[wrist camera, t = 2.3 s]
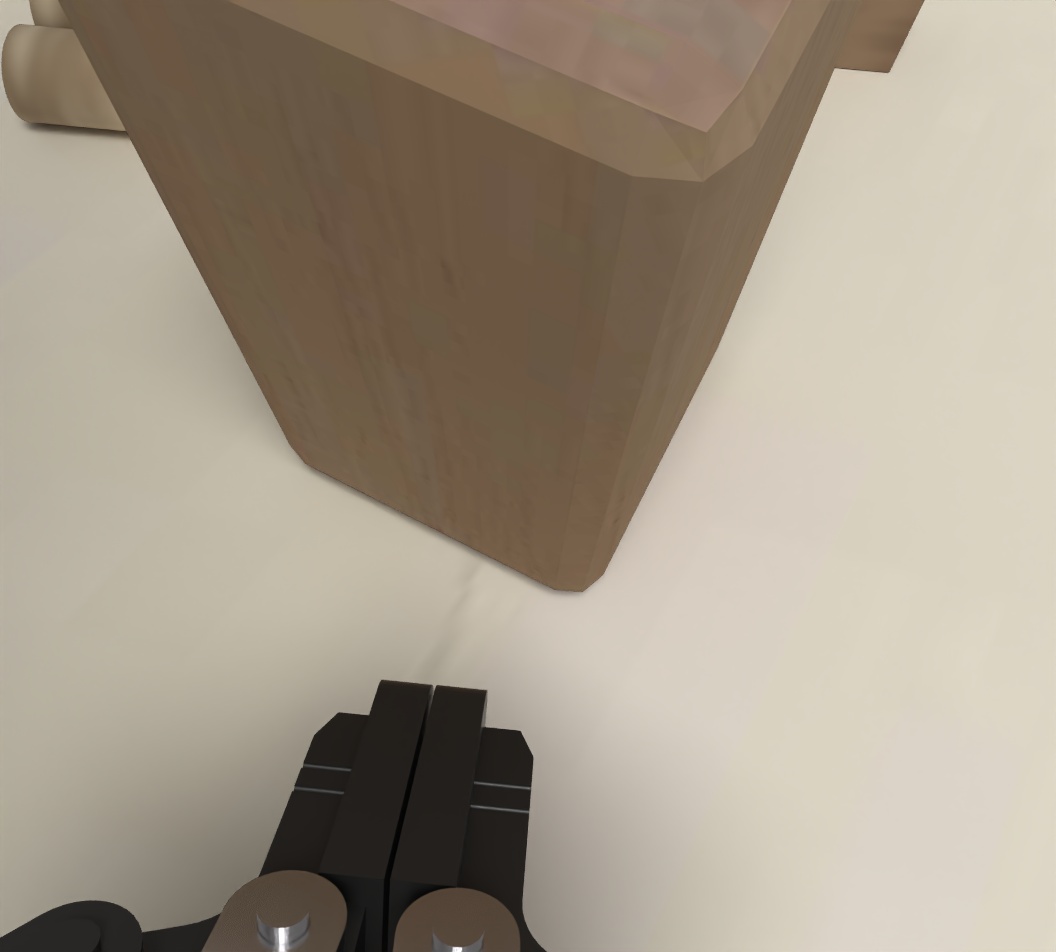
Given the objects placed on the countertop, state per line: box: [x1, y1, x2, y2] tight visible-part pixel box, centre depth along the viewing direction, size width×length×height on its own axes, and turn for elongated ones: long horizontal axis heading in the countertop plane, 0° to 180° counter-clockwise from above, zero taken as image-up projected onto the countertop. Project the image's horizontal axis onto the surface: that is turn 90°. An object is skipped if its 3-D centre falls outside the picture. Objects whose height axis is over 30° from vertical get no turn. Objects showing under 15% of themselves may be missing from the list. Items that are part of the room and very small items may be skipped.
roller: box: [2, 24, 126, 131], centre depth 33 cm, size 10×3×3 cm
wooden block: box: [58, 0, 863, 592], centre depth 21 cm, size 10×10×20 cm
